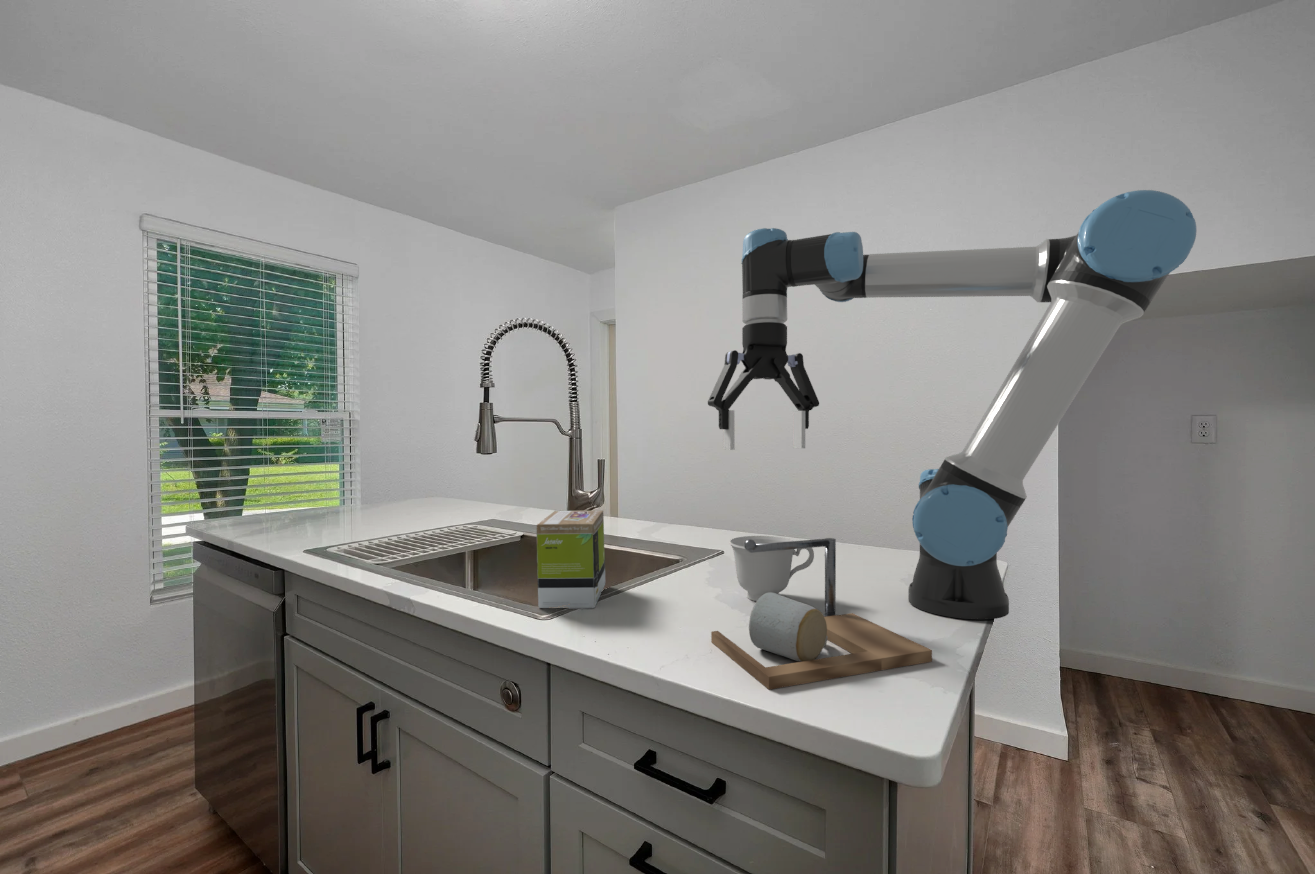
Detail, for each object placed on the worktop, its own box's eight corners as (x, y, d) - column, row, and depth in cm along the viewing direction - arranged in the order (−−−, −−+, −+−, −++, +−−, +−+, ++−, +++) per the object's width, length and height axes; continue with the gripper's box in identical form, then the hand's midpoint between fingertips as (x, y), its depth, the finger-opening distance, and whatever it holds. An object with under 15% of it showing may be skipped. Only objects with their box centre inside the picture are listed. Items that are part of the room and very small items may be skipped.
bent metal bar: (833, 616, 94) (833, 530, 94) (849, 624, 90) (849, 534, 90) (738, 629, 88) (738, 537, 88) (751, 637, 85) (751, 542, 84)
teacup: (820, 609, 98) (820, 549, 98) (730, 607, 99) (730, 548, 99) (808, 589, 110) (808, 536, 110) (728, 587, 111) (728, 535, 111)
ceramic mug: (800, 672, 73) (801, 610, 73) (747, 654, 79) (747, 597, 79) (842, 650, 80) (842, 594, 80) (790, 635, 86) (791, 583, 86)
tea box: (554, 585, 113) (554, 509, 113) (606, 585, 113) (605, 509, 113) (536, 609, 98) (535, 521, 98) (595, 610, 98) (595, 522, 98)
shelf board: (852, 622, 91) (852, 613, 91) (931, 661, 76) (932, 650, 76) (711, 642, 83) (711, 631, 83) (768, 689, 68) (768, 676, 68)
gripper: (814, 331, 107) (814, 447, 108) (688, 324, 99) (688, 449, 100) (839, 324, 100) (839, 448, 101) (706, 316, 92) (706, 450, 92)
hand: (764, 449), depth 100 cm, fingers open, 13 cm apart
